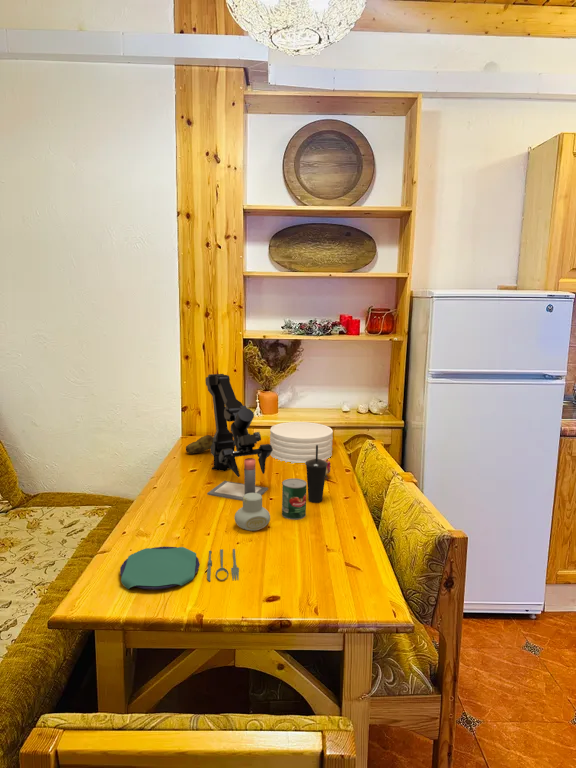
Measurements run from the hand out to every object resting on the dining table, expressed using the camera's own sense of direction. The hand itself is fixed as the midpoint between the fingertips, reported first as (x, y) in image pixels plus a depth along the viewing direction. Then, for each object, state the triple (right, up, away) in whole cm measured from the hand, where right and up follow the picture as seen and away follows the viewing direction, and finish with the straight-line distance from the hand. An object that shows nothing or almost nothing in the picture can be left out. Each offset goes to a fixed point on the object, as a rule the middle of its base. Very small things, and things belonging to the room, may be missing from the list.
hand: (251, 474), depth 175 cm
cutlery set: (-15, -17, -44) cm, 50 cm away
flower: (+25, -6, +23) cm, 34 cm away
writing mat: (-5, -8, +8) cm, 12 cm away
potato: (-26, 0, +51) cm, 57 cm away
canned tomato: (+15, -11, -10) cm, 21 cm away
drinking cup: (+22, -9, +2) cm, 24 cm away
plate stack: (+19, 0, +53) cm, 56 cm away
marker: (-1, -8, +3) cm, 8 cm away
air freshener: (+2, -13, -19) cm, 23 cm away
